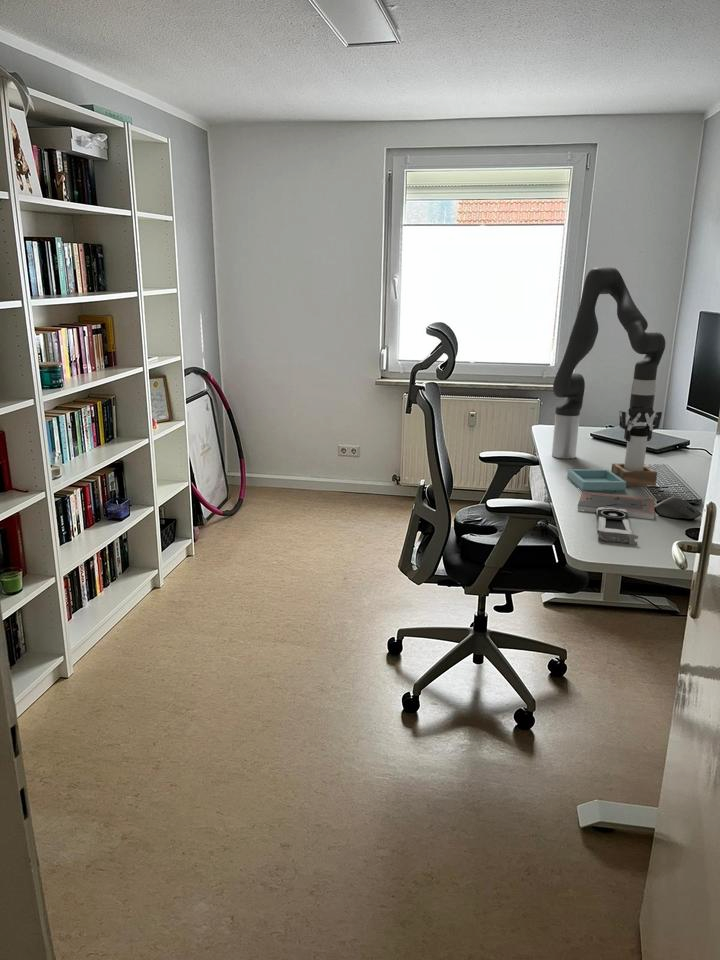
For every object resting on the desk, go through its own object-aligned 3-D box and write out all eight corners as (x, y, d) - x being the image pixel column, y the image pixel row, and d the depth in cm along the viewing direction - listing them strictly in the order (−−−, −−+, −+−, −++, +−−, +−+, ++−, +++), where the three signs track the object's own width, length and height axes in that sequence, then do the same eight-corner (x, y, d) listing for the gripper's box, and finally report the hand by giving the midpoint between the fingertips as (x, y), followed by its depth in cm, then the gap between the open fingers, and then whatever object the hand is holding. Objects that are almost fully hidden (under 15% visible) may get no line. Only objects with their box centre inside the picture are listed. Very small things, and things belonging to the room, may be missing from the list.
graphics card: (599, 531, 182) (596, 504, 205) (597, 543, 182) (595, 515, 205) (639, 535, 179) (631, 507, 202) (637, 547, 180) (630, 518, 203)
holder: (610, 476, 245) (612, 463, 244) (640, 476, 245) (642, 463, 244) (623, 486, 234) (625, 472, 232) (655, 486, 234) (657, 472, 233)
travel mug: (639, 485, 235) (647, 428, 230) (620, 481, 239) (627, 425, 234) (644, 481, 240) (652, 425, 235) (625, 477, 244) (632, 423, 238)
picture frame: (577, 512, 208) (653, 521, 200) (577, 504, 207) (654, 513, 200) (581, 497, 223) (652, 505, 215) (582, 490, 222) (653, 498, 214)
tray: (567, 479, 242) (567, 469, 241) (607, 479, 242) (608, 469, 242) (582, 492, 226) (583, 482, 225) (625, 492, 227) (626, 482, 226)
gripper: (659, 391, 235) (653, 438, 239) (617, 390, 234) (612, 438, 239) (669, 394, 228) (662, 443, 232) (626, 394, 227) (620, 443, 232)
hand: (637, 440), depth 236 cm, fingers closed on travel mug, 6 cm apart
